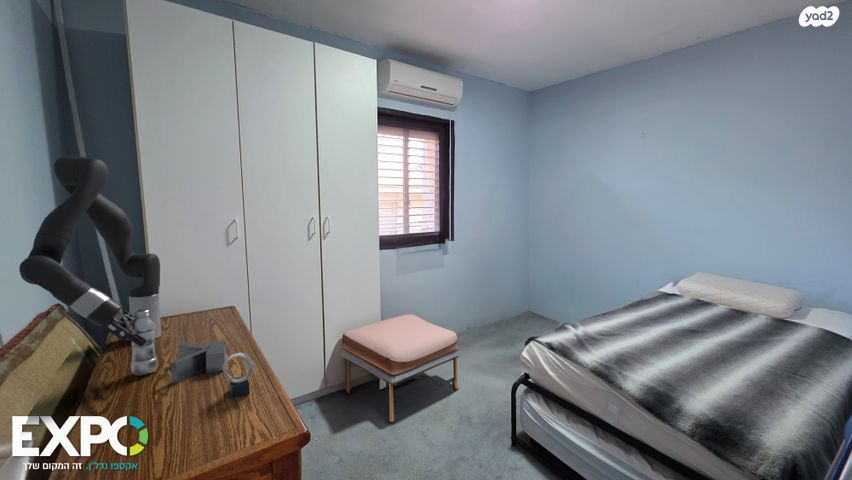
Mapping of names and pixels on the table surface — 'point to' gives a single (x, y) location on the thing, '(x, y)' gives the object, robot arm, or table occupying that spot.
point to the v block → (198, 359)
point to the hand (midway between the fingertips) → (147, 339)
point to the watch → (239, 384)
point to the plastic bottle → (145, 354)
